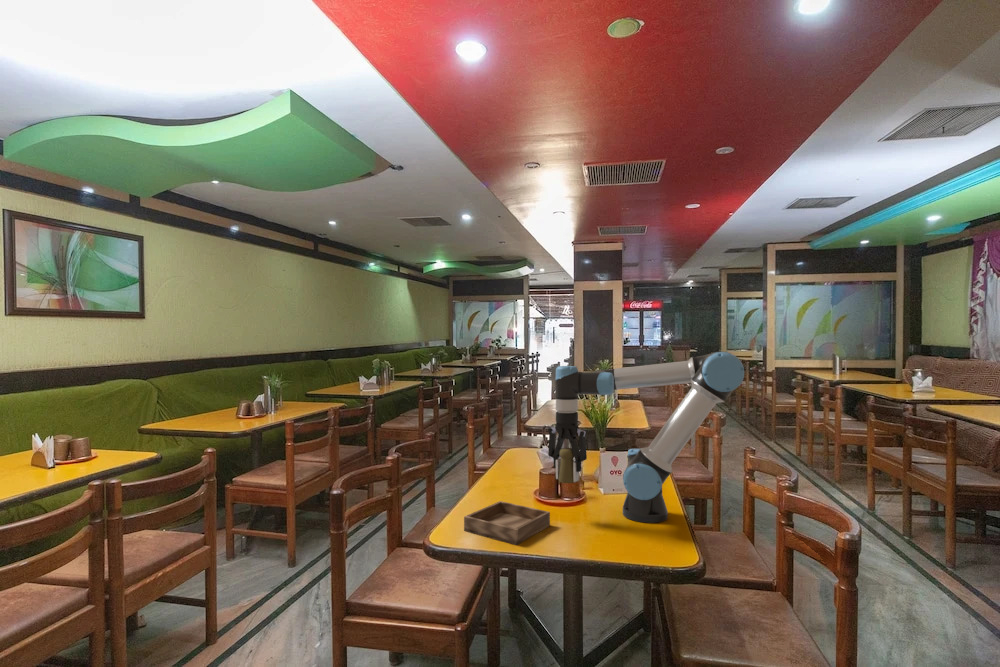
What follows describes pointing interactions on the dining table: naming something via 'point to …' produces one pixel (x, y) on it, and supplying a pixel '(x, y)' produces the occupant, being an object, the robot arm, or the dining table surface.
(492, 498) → the dining table surface
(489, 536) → the tray
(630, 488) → the robot arm
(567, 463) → the olive pepper mill
